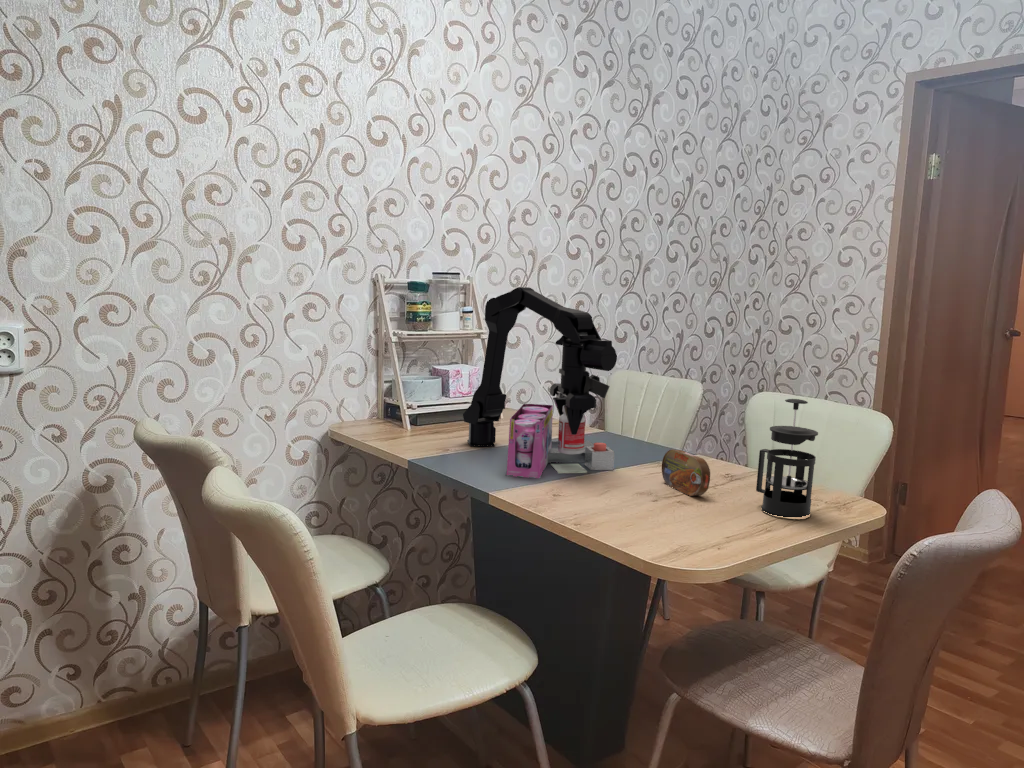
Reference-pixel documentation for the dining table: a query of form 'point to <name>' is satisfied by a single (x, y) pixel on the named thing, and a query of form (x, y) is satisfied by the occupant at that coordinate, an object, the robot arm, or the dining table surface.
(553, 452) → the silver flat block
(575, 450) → the pill bottle
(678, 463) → the tin
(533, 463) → the gum box
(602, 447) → the button
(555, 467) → the pad
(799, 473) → the french press
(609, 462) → the housing
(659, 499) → the dining table surface
